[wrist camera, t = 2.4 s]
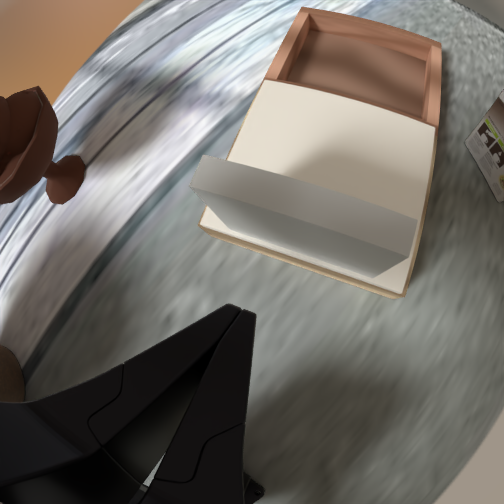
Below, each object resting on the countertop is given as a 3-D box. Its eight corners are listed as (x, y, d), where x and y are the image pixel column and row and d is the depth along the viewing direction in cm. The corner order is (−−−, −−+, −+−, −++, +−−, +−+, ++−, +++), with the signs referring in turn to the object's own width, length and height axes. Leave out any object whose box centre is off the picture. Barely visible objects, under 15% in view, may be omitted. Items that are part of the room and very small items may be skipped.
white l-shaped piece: (399, 293, 17) (452, 280, 10) (202, 226, 20) (148, 180, 13) (432, 131, 19) (469, 64, 11) (265, 84, 22) (247, 9, 14)
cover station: (392, 299, 20) (404, 296, 18) (211, 236, 24) (197, 225, 21) (433, 62, 23) (441, 43, 20) (303, 27, 27) (301, 6, 24)
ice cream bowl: (110, 120, 28) (21, 30, 14) (100, 221, 26) (-33, 153, 11) (41, 149, 30) (-46, 89, 15) (28, 239, 28) (-84, 198, 13)
